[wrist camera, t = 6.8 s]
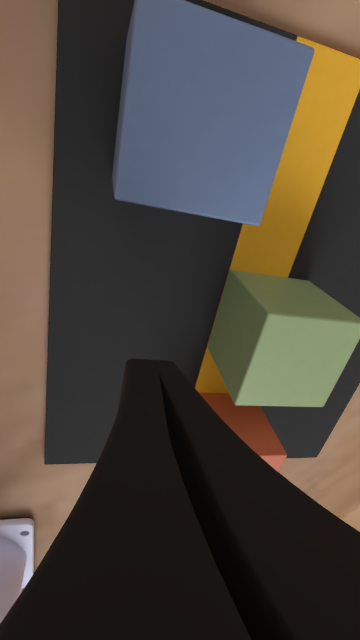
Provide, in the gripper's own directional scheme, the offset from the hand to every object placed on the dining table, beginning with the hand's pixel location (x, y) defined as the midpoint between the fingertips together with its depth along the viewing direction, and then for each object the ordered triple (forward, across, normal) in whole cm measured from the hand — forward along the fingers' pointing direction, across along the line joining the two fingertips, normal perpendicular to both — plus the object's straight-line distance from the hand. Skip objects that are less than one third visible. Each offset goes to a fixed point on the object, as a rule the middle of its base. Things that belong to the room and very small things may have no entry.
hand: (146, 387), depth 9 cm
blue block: (+6, -1, -7) cm, 9 cm away
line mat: (+6, -6, 0) cm, 8 cm away
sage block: (+6, -6, 0) cm, 8 cm away
